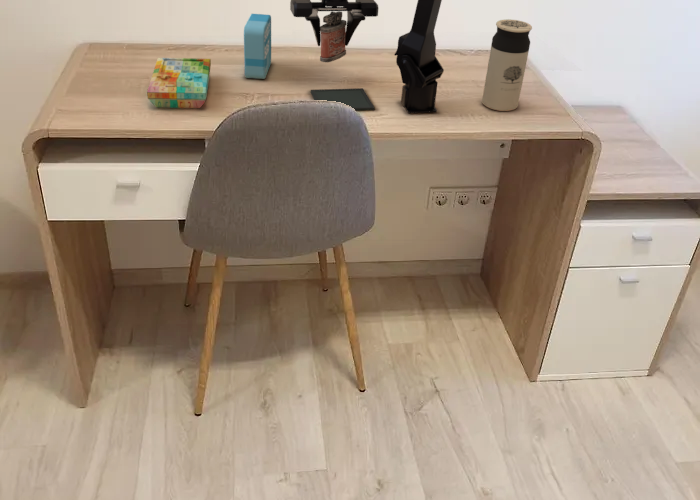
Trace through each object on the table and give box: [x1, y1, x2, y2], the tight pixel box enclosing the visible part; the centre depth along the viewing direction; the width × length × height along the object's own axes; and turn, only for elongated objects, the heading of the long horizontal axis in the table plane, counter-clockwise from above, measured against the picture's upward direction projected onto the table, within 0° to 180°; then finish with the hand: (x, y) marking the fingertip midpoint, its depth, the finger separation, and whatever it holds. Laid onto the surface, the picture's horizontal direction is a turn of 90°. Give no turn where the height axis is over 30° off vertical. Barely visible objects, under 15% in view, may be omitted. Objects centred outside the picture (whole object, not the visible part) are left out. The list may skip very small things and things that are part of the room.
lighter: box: [319, 11, 347, 63], centre depth 167 cm, size 8×3×10 cm, turn 145°
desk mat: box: [310, 87, 376, 112], centre depth 163 cm, size 12×11×1 cm
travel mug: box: [481, 18, 533, 112], centre depth 162 cm, size 8×8×18 cm
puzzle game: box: [146, 57, 212, 109], centre depth 161 cm, size 12×5×20 cm
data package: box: [243, 13, 272, 80], centre depth 172 cm, size 12×4×12 cm, turn 177°
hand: (332, 45), depth 168 cm, fingers closed on lighter, 6 cm apart
